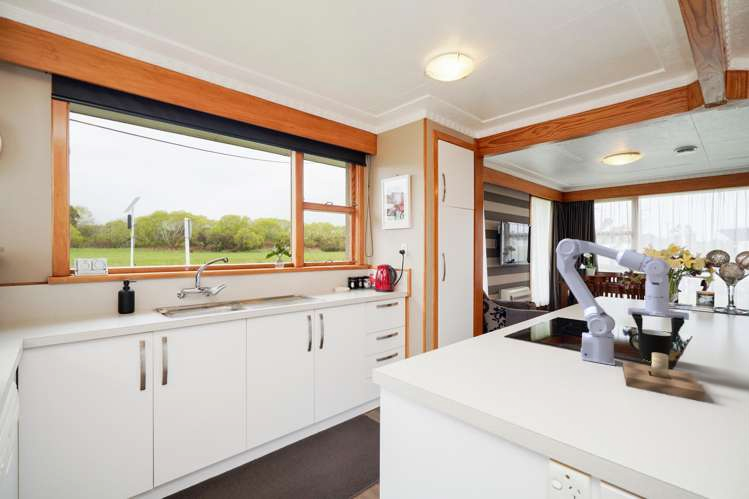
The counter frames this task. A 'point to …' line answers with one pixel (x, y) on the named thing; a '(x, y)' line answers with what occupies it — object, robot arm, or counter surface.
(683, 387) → the board
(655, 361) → the peg
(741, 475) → the counter surface
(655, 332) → the mug
